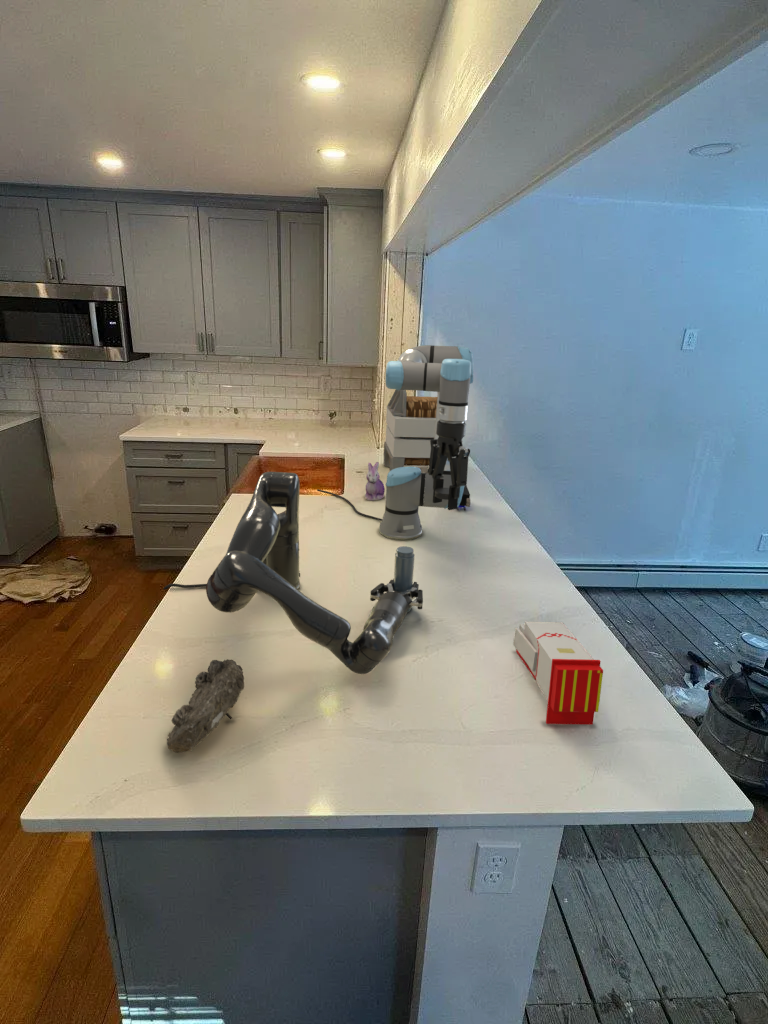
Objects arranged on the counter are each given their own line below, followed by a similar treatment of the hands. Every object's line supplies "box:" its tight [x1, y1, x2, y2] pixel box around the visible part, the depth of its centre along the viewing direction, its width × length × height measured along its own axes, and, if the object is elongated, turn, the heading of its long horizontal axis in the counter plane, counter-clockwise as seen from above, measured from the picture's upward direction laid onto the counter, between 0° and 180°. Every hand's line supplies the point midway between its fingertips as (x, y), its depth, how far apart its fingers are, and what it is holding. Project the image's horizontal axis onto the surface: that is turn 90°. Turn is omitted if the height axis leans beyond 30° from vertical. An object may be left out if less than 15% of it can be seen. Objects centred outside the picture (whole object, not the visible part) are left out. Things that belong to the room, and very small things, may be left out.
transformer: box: [383, 389, 464, 472], centre depth 268 cm, size 34×33×41 cm
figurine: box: [364, 461, 386, 501], centre depth 234 cm, size 9×10×15 cm
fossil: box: [166, 658, 245, 754], centre depth 106 cm, size 22×10×15 cm
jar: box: [393, 545, 416, 613], centre depth 147 cm, size 5×5×17 cm
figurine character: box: [456, 485, 471, 512], centre depth 229 cm, size 7×8×15 cm
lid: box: [435, 488, 449, 500], centre depth 153 cm, size 6×6×2 cm
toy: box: [512, 621, 604, 726], centre depth 121 cm, size 12×13×30 cm
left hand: (405, 583), depth 151 cm, fingers closed on jar, 5 cm apart
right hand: (444, 505), depth 154 cm, fingers closed on lid, 6 cm apart
